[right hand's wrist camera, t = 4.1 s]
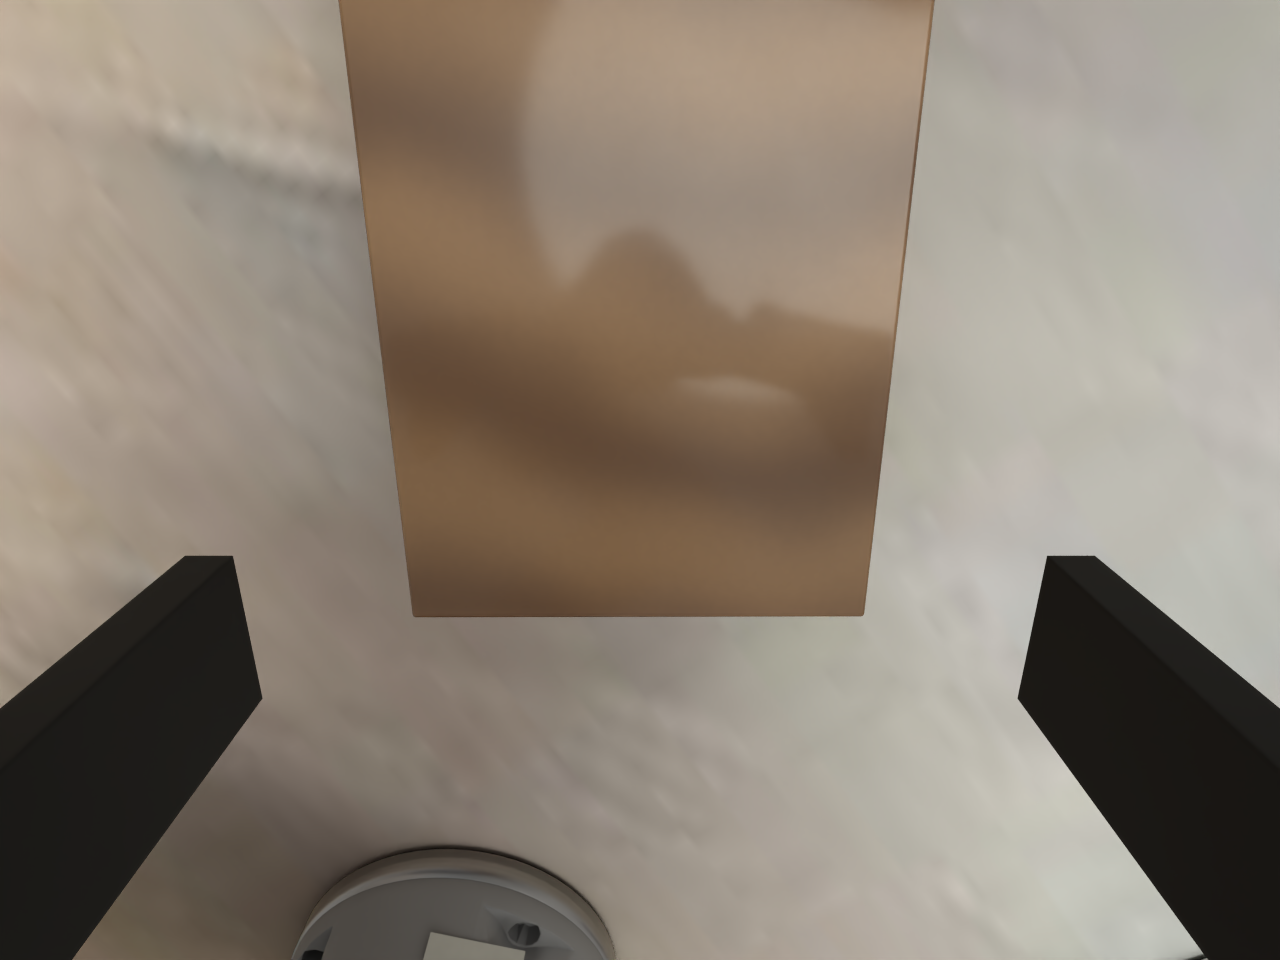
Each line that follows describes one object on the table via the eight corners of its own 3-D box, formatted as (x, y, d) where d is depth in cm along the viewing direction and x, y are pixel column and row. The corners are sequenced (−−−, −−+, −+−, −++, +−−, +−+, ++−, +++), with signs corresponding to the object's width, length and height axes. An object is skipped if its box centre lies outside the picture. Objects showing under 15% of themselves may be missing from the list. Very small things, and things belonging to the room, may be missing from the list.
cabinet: (427, -257, 21) (264, -596, 12) (846, -258, 21) (1005, -598, 12) (484, 478, 29) (411, 618, 20) (792, 478, 29) (864, 617, 20)
